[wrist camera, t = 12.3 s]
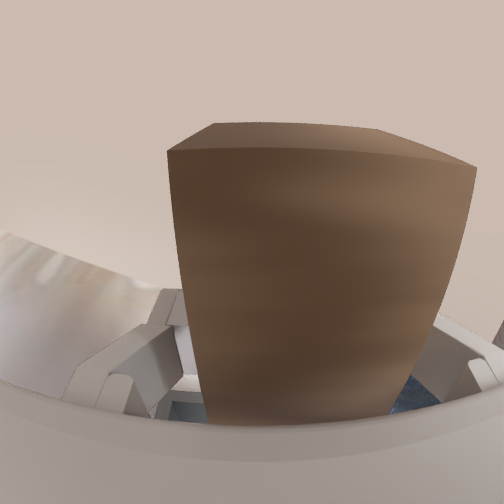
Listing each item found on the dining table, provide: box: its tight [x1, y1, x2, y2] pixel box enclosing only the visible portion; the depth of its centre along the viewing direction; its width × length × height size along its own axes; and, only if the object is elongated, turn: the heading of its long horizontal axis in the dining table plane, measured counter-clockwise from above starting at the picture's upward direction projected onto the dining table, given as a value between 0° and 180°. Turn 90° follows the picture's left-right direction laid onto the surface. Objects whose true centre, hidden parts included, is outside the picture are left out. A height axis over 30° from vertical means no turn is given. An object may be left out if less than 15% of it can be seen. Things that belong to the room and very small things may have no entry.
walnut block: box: [167, 122, 477, 426], centre depth 8 cm, size 4×4×11 cm
